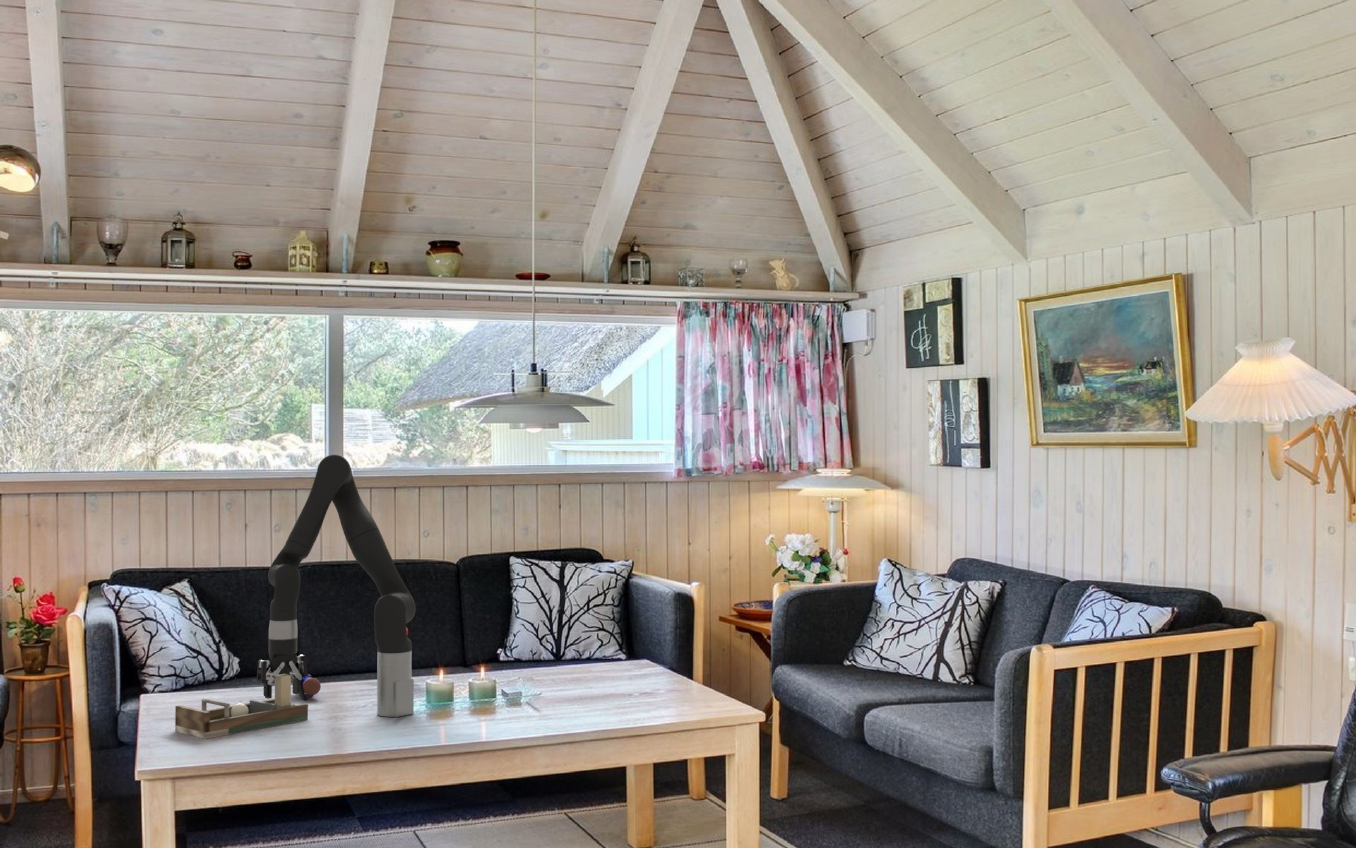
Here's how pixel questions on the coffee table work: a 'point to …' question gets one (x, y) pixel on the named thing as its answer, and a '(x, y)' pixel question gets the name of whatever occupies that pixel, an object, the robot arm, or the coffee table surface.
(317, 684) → the character figurine
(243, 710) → the ball
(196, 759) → the coffee table surface
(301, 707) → the channel
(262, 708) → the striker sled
